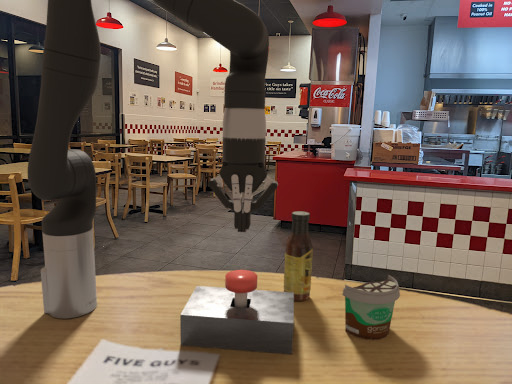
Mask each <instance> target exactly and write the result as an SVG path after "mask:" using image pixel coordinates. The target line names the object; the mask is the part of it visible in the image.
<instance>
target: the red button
mask: <svg viewBox="0 0 512 384" xmlns="http://www.w3.org/2000/svg"><path fill="white" fill-rule="evenodd" d="M224 277H225V279H224V284H225V285H224V286H225V287H224V288H226V289H227V290H229V291H231V292H235V302H234V307H242V308H247V293H248V292H252V291H254V290H257V289H258V274H257V273H255V272H254V271H252V270H248V269H236V270H231V271H229V272H227V273H225V276H224Z"/></svg>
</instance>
